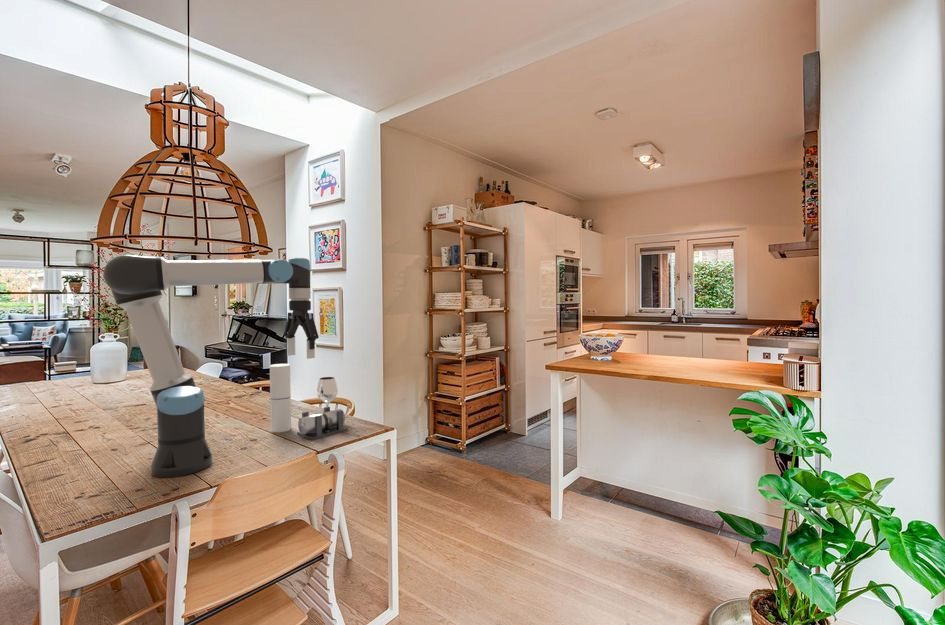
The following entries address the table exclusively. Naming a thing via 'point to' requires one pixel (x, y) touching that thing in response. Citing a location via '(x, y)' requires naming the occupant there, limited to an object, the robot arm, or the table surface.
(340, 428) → the rail
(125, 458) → the table surface
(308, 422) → the tube
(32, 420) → the table surface
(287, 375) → the cylindrical container
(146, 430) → the table surface
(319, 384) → the wineglass
